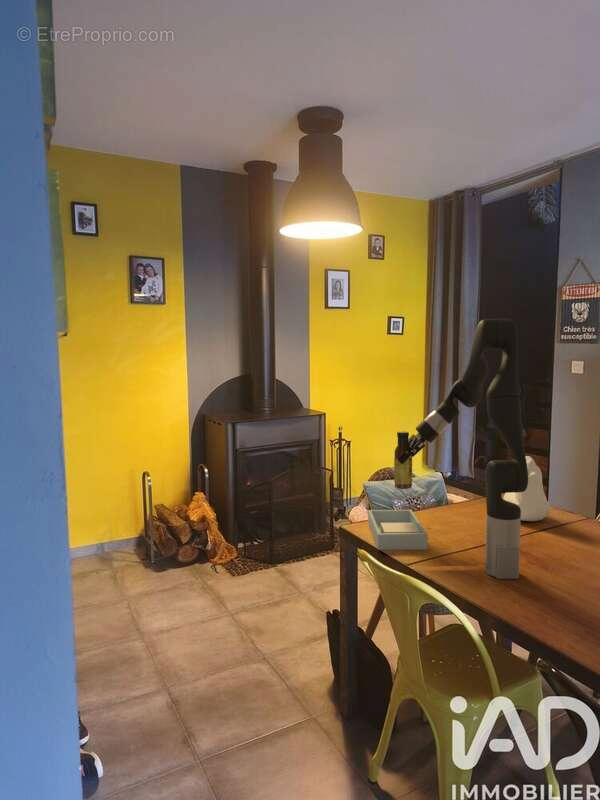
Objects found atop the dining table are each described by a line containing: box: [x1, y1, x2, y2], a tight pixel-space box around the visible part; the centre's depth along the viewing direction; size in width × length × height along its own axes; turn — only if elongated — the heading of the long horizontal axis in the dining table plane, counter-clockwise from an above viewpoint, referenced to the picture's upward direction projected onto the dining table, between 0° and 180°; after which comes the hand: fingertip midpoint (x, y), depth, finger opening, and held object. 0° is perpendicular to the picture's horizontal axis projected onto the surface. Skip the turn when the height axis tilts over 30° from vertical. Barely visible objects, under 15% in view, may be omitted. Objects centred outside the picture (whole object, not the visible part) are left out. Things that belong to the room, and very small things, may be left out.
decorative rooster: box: [503, 455, 551, 522], centre depth 206 cm, size 25×16×25 cm, turn 167°
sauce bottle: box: [393, 431, 413, 490], centre depth 189 cm, size 6×6×20 cm
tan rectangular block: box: [380, 523, 418, 533], centre depth 179 cm, size 9×11×5 cm
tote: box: [367, 509, 429, 551], centre depth 185 cm, size 26×16×6 cm, turn 0°
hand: (398, 460), depth 189 cm, fingers closed on sauce bottle, 6 cm apart
